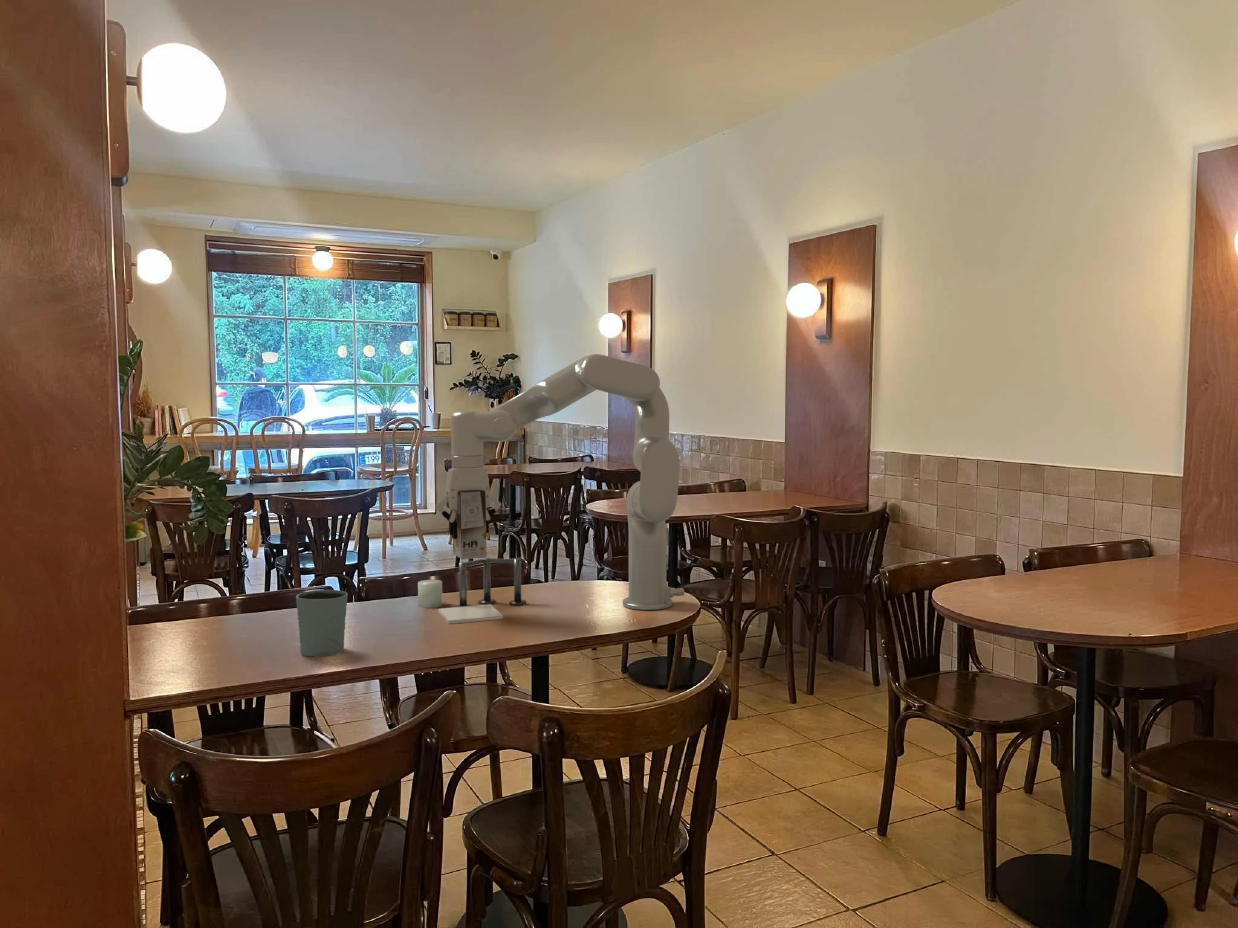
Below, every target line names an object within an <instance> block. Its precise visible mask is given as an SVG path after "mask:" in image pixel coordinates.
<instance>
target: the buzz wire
mask: <svg viewBox="0 0 1238 928" xmlns="http://www.w3.org/2000/svg"><path fill="white" fill-rule="evenodd" d="M491 563H494V564H495V563H497V564H499V563H501V564H513V596H514V598H513V599H511V600H509V601H508V603H509V604H510V606H514V607H515V606H516V607H520V606H524V605H523V604H525V605H527V604H526V603H527V600H526V599H522V559H521V558H493V557H492V558H490V557H486V558H479V559H477V560H476V559H474V560H469V561H463V562H461V561H459V563H458V578H459V581H458V582H459V583H458V584H459V586H458V587H459V588H458V589H459V604H456V605H454V607H465V606H473V605H472V604H469V603H468V591H467V589H468V588H467V585H468V584H467V578H468V577H467V576H468V575H467V567H471V566H477V565H480V564H481V565H482V564H483V565H482V566H483V567H482V568H483V569H482V573H483V575H482V576H483V577H482V579H483V580H482V581H483V598H482V599H479V600H478V604H479V605H489V604H490V605H494V604H496V603H497V600H496V599H495V598H492V596H491V595H492V594H491V593H492V592H491V591H492V588H491V585H492V583H491V579H492V578H491ZM509 604H508V605H509ZM454 607H453V608H454Z"/></svg>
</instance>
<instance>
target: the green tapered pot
mask: <svg viewBox="0 0 1238 928" xmlns="http://www.w3.org/2000/svg"><path fill="white" fill-rule="evenodd" d="M348 595H349V594H348V592H347V591H344V590H338V589H321V590H320V589H319V590H318V589H317V590H310V591H305V592H300V593H298V594H296V595H295V599H296V600H295V603H296V610H297V620H298V631H299V633H298V634H299V637H298V639H299V644H300V645H299V650H300V653H301V655H302V656H304V655H305V656H304V657H308V656H324V657H329V656H328V655H331V656H334V654H335V655H338V654H340V653H342V652H343V651H344V649H345V630H346V616H347V606H348ZM337 653H338V654H337Z"/></svg>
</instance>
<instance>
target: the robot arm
mask: <svg viewBox="0 0 1238 928" xmlns="http://www.w3.org/2000/svg"><path fill="white" fill-rule="evenodd" d="M595 391H601V392H604V393H608V394H612V395H615V396H620V397H622V398H624V399H625V400H627V401H628V402H630V404H631V405H632V408H633V410H634V416H635V425H634V426H635V427H634V428H635V429H634V441H633V442H634V444H633V452H632V461H633V465H634V467H635V468H636V470H637V471H639V472H640V480H638V481H636V482H635V483H633V485H632V486H630V488H629V489H628V492H627V495H626V500H625V501H626V502H625V503H626V507H625V508H626V514H627V524H628V525H627V527H628V529H627V530H628V597H625V598H624V599H622V606H623V607H625V608H627V609H632V610H642V611H651V610H652V611H653V610H663V609H668V608H670V607H672V606H673V603H674V602H673V599H672V598H673V597H675V596H676V597H680V596H681V597H684V595H685V590H684V589H685V588H684V587H679V588H678V587H677V588H675V587H670V586H668V585H667V526H666V525H667V523H666V521H667V520H668V519H669V518H671V516H672V515H673V514H674V512H675V509H676V507H677V502H678V494H679V478H680V466H681V462H680V454H679V452H678V448H676V446H675V444H673V442H671V441H670V440H669V439H670V408H669V403H668V400H667V398H666V396H665V393H664V392H663V390H662V388H661V381H660V377H659V374H658V373H657V372H656V371H655V370H654V369H653V368H651V367H649V366H648V365H644V364H640V363H636V362H632V361H628V360H624V359H620V358H616V357H613V356H612V357H611V356H609V355H605V354H598V353H594V354H589V355H585V356H584V357H582V358H580V359H578V360H576V361H574V362H573V363H571V364H569V365H567V366H565V367H563V368H562V369H560V370H559V371H556V372H555V373H553V374H551V375H550V376H548V377H546V378H544V379H542V380H541V381H539V382H537V383H536V384H534V385H532V386H531V387H529V388H528V389H526V390H524V391H522V392H521V393H519V394H518V395H516V396H515V397H512V398H510V399H509V400H507V401H505V402H503V403H502V404H499V406H496V407H495V408H493V409H491V410H489V411H484V412H480V411H474V410H471V411H470V410H469V411H468V410H465V411H464V410H463V411H462V410H460V411H455V412H453V413H452V414H451V416H450V432H451V433H450V434H451V435H450V436H451V438H450V439H451V441H450V442H451V468H448V471H447V477H446V484H445V485H446V486H445V487H446V488H445V491H446V492H445V496H444V497H442V499H441V500H439V502H438V503H436V505H435V506H434V508H435V509H436V510H437V511H438V513H439V514H440V515H442V517H443V518H445V519H446V520H447V521H448V533H449V536H451V538H452V540H453V539H456V538H457V523H456V522H455V518H456V516H457V510H458V491H470V490H484V491H485V496H486V538H488V534H489V533H490V526H489V525H490V522H489V521H490V520H491V518H492V517H493V516H494V515H495V514H496V513H497V511H498V510H499V508H500V507H502V502H501V501H499V500H498V499H497V498H496V497H495V496H493V494H491V491H490V490H491V489H490V481H489V475H488V471H487V468H486V467H485V465H487V464H490V457H486V456H485V455H484V441H491V442H499V443H502V442H506V441H509V440H510V439H511V438H513V437H514V435H515V434H516V432H517V431H518V430H521V428H523V427H525V426H527V425H529V424H530V423H531V424H532V422H535V421H538V420H540V419H541V418H545V417H546V418H547V417H549V416H552V415H554V414H556V413H559V412H561V411H562V410H564V409H566V408H567V407H569V406H570V405H572V404H575V403H576V402H577V401H580V400H581V399H582V398H584V397H586V396H588V395H590V394H591V393H593V392H595ZM491 503H492V507H491V508H490V506H491ZM445 506H446V508H447V509H449V510H450V511H449V512H447V511H446V509H444V507H445Z"/></svg>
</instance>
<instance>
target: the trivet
mask: <svg viewBox="0 0 1238 928" xmlns="http://www.w3.org/2000/svg"><path fill="white" fill-rule="evenodd" d="M437 611H438V613H439V615H440V616H441V617H442V618H443V619H444V620H445V622H446V623H447V624H448V625H451V624H462V623H471V622H472V623H473V622H484V621H485V622H486V621H494V620H503V619H504V615H503V614H502V613H501V612H500V611H499V610H498V609H496V608H495V606H493V604H491V605H490V604H489V605H481V604H479V605H472V606H465V607H445V608H443V607H442V608H438V610H437Z"/></svg>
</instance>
